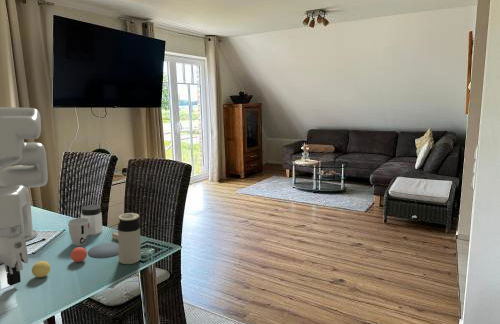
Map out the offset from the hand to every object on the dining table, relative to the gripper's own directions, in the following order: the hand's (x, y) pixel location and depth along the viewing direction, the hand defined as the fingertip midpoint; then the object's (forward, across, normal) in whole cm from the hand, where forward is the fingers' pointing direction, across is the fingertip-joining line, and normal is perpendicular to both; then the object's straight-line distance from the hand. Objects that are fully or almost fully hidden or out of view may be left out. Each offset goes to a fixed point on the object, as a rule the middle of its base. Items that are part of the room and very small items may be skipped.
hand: (14, 283), depth 112 cm
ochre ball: (-1, 0, -9) cm, 9 cm away
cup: (+2, +15, -32) cm, 36 cm away
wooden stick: (+2, 0, -44) cm, 45 cm away
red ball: (-1, 0, -23) cm, 23 cm away
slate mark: (+2, 0, -35) cm, 35 cm away
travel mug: (+2, -14, -34) cm, 37 cm away
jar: (+2, +22, -43) cm, 48 cm away
